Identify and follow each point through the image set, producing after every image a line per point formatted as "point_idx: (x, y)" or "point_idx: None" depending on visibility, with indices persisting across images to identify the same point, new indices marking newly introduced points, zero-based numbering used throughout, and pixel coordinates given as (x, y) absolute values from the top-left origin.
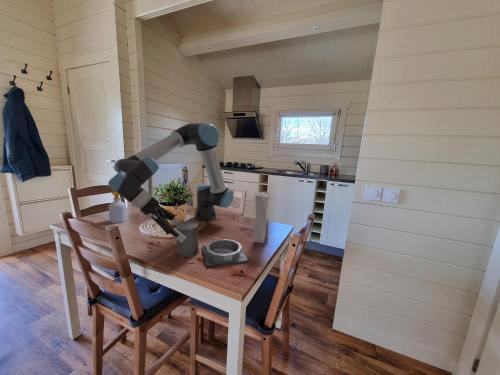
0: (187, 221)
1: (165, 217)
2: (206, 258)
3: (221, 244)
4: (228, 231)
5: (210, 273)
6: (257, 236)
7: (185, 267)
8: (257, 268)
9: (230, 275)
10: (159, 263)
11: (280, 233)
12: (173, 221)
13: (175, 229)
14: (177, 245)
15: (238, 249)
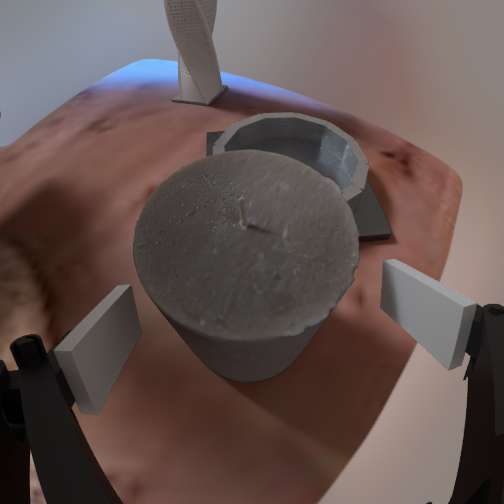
0: (144, 228)
1: (501, 434)
2: None
3: None
4: (88, 162)
5: (417, 229)
6: (208, 83)
7: None
8: (366, 125)
9: (413, 181)
10: (355, 449)
11: (171, 68)
12: (97, 382)
13: (466, 297)
14: (282, 366)
15: (315, 121)
